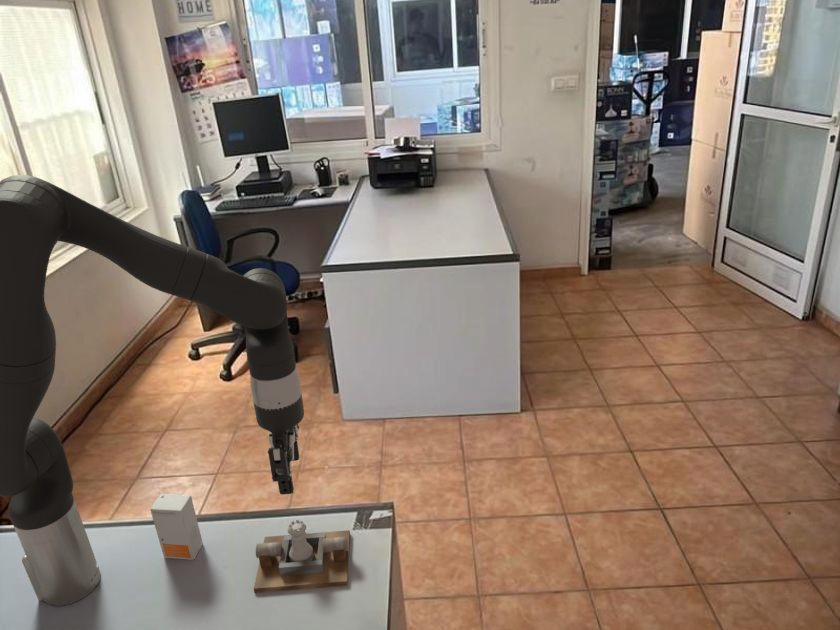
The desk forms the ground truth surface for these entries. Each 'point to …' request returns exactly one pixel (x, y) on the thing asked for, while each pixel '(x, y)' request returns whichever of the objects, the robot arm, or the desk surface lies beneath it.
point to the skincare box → (176, 526)
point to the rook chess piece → (299, 543)
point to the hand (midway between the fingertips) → (290, 475)
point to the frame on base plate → (303, 563)
